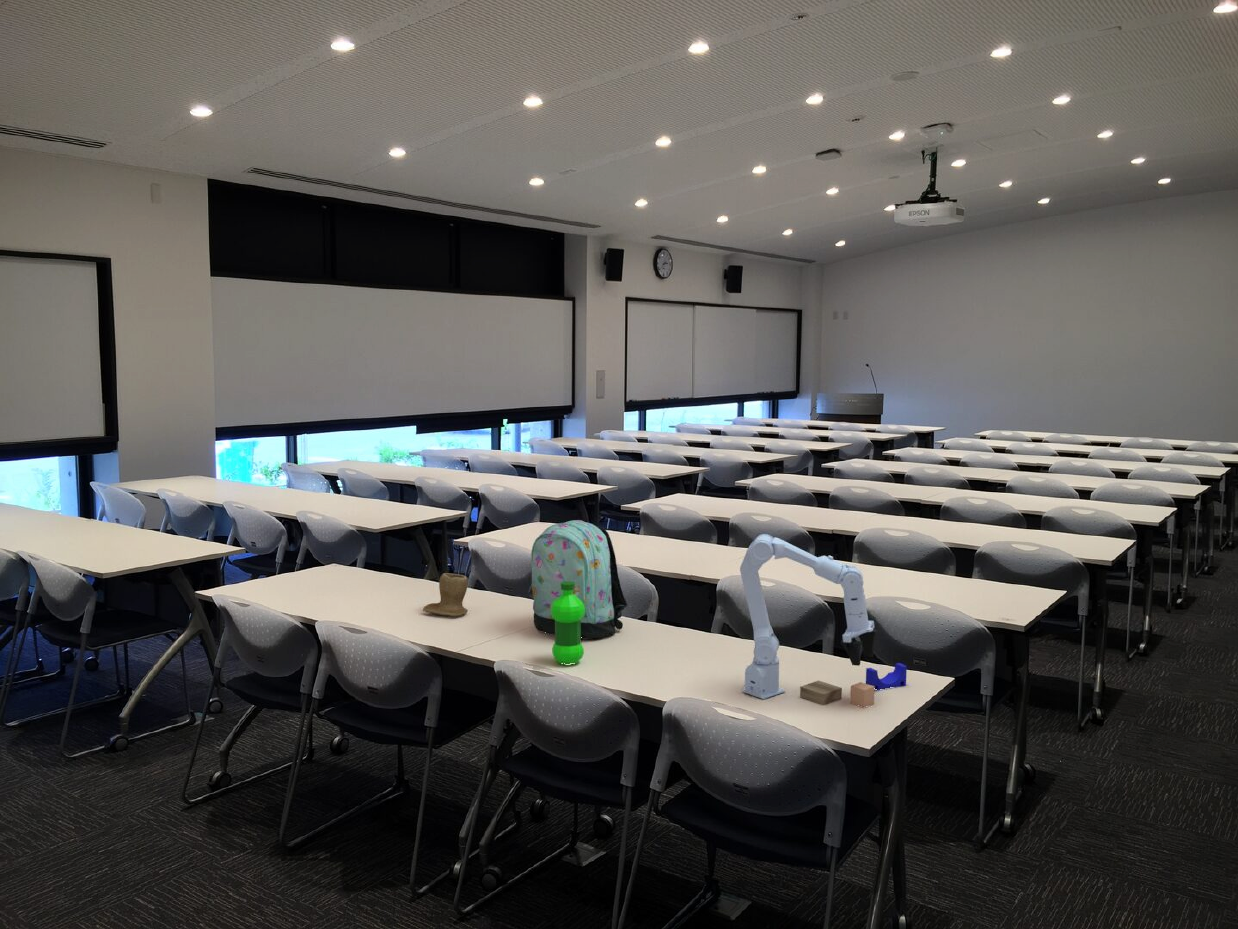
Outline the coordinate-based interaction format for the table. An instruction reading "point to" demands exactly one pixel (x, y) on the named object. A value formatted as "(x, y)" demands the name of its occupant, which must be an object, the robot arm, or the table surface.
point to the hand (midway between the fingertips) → (862, 660)
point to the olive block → (820, 692)
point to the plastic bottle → (567, 625)
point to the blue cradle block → (887, 677)
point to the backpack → (577, 576)
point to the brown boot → (450, 595)
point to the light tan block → (862, 694)
